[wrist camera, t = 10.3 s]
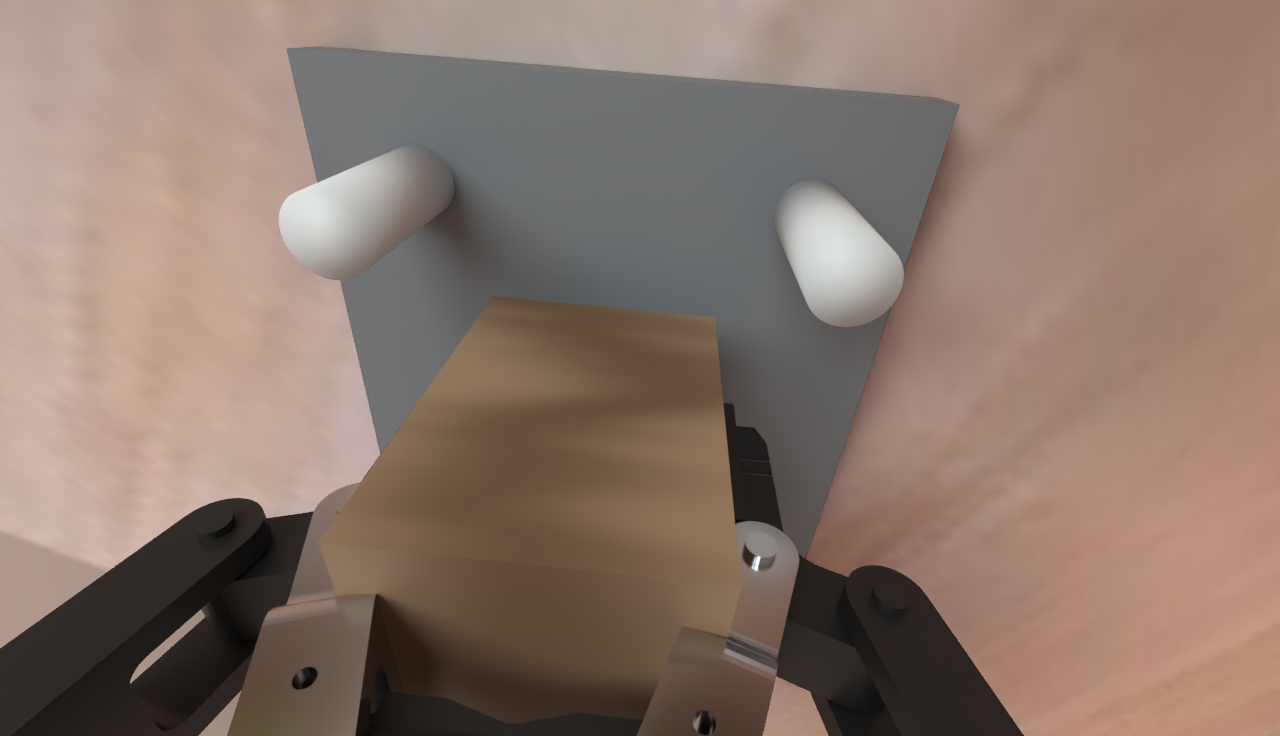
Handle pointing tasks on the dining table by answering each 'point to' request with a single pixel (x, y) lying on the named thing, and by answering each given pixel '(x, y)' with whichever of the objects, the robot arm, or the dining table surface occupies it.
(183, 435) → the dining table surface
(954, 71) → the dining table surface
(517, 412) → the walnut block
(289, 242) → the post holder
